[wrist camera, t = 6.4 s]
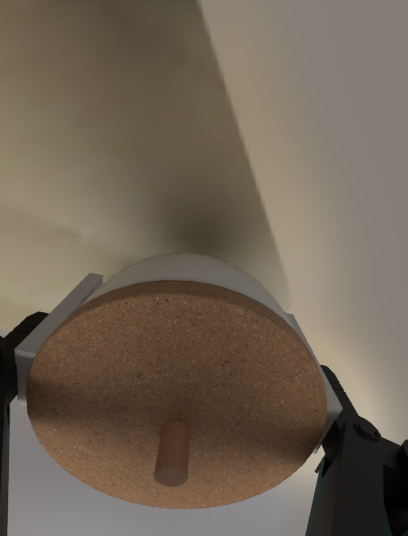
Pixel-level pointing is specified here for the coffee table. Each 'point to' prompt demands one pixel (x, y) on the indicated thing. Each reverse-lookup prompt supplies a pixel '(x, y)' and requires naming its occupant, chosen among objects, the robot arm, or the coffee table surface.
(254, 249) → the coffee table surface
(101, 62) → the coffee table surface
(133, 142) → the coffee table surface
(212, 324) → the lidded jar
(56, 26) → the coffee table surface
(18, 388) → the robot arm
